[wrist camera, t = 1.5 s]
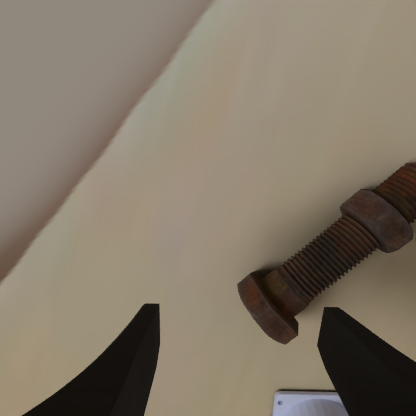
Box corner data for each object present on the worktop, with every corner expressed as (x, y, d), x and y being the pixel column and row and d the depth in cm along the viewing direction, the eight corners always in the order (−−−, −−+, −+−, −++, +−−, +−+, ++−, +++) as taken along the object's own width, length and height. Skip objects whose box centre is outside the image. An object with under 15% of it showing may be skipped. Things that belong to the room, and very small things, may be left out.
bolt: (396, 176, 23) (255, 291, 25) (387, 135, 19) (225, 272, 21) (472, 219, 18) (294, 353, 20) (478, 177, 15) (264, 342, 17)
